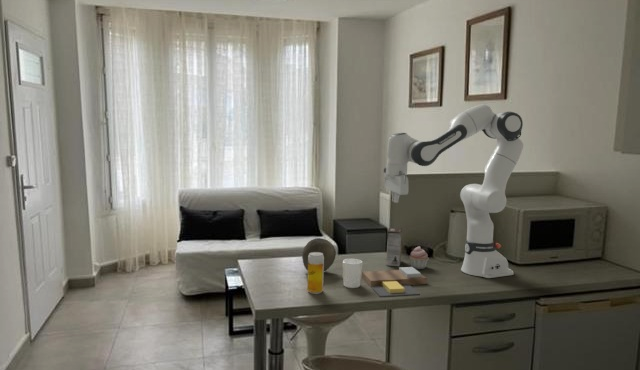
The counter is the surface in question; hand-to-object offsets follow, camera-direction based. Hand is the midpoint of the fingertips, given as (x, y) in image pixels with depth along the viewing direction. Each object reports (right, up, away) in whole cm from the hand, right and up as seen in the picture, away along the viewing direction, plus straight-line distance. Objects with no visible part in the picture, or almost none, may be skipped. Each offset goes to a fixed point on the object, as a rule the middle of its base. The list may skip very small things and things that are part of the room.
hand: (395, 202), depth 207 cm
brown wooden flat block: (-2, -32, -9) cm, 34 cm away
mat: (-4, -34, -21) cm, 40 cm away
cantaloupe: (-34, -31, 0) cm, 46 cm away
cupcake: (+12, -31, +11) cm, 35 cm away
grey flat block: (+5, -30, -7) cm, 31 cm away
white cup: (-20, -33, -15) cm, 42 cm away
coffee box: (+2, -30, +17) cm, 34 cm away
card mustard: (-4, -33, -20) cm, 39 cm away
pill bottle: (-35, -34, -24) cm, 54 cm away
